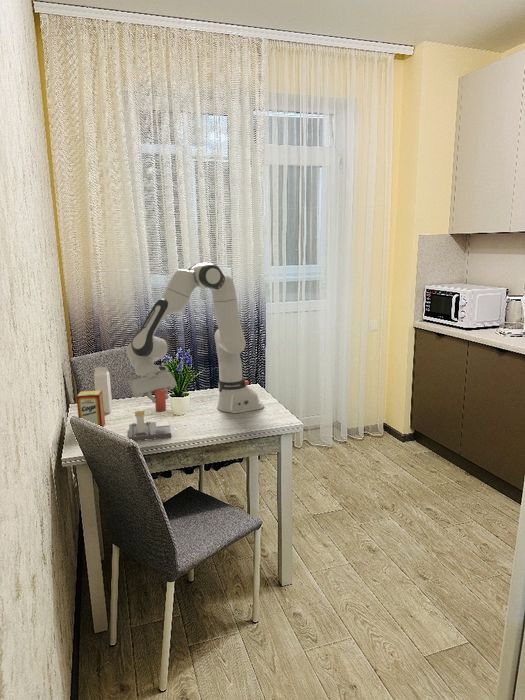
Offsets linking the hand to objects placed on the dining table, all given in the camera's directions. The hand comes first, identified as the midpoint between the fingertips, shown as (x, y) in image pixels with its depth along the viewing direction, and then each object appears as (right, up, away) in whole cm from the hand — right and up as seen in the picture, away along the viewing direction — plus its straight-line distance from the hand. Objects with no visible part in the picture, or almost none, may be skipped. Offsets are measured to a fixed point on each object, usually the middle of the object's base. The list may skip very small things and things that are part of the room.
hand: (161, 400), depth 212 cm
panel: (-5, -14, -1) cm, 15 cm away
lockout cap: (0, -5, +2) cm, 5 cm away
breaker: (-7, -13, -7) cm, 16 cm away
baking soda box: (-32, -13, +7) cm, 35 cm away
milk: (-33, -8, +27) cm, 43 cm away
